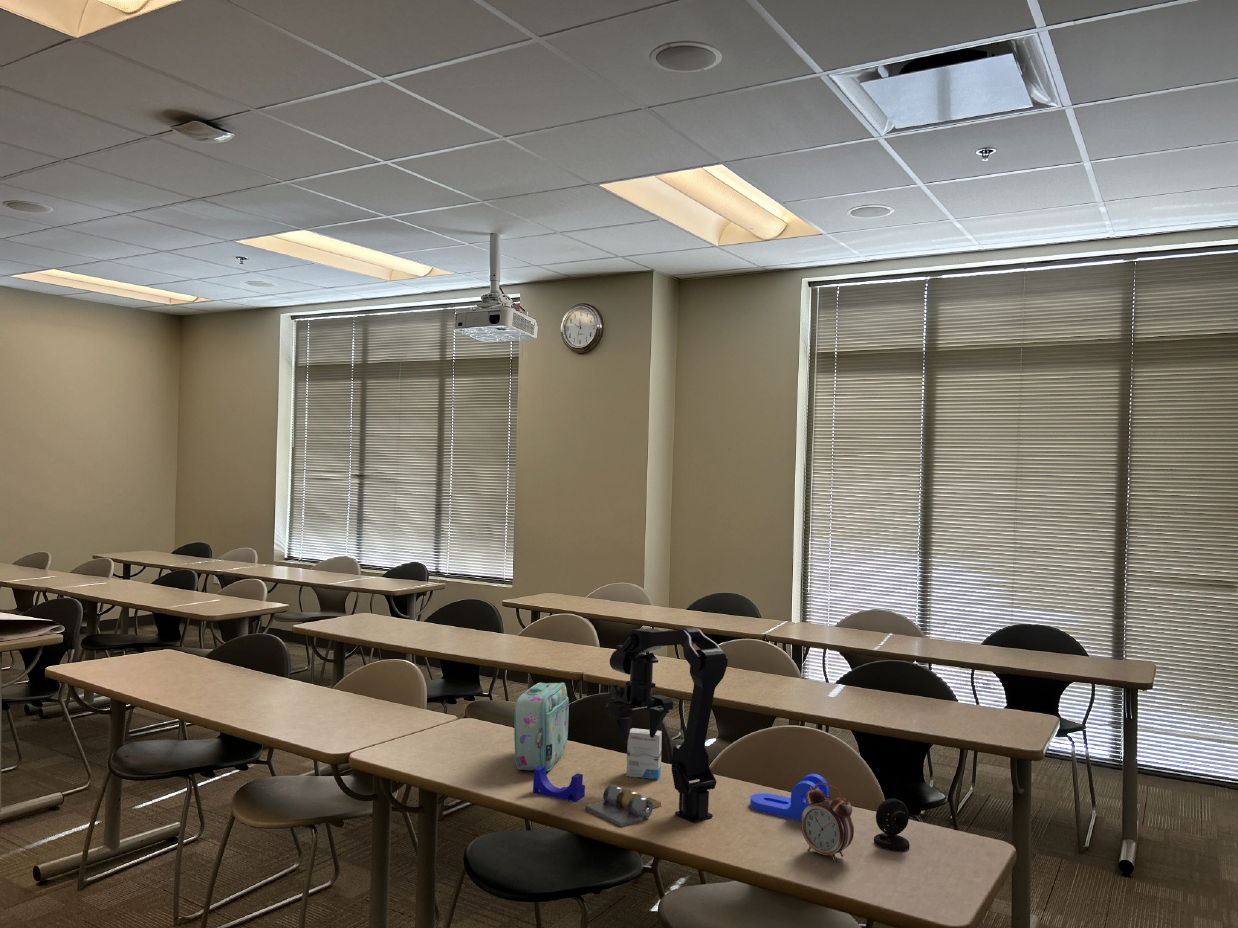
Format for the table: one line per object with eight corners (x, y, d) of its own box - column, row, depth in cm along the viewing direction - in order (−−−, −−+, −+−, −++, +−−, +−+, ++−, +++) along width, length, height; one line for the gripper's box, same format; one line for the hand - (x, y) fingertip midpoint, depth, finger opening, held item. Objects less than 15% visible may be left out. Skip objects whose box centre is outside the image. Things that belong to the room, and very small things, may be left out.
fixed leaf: (655, 818, 201) (656, 798, 201) (623, 827, 194) (624, 807, 194) (614, 800, 212) (615, 781, 212) (583, 808, 205) (583, 789, 205)
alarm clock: (797, 850, 186) (800, 779, 187) (810, 844, 190) (813, 774, 190) (843, 867, 179) (845, 793, 179) (855, 860, 182) (857, 788, 182)
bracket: (828, 814, 209) (829, 776, 209) (819, 825, 202) (820, 786, 202) (756, 799, 218) (758, 762, 218) (745, 809, 210) (746, 771, 211)
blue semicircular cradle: (584, 797, 214) (585, 772, 214) (575, 802, 209) (577, 777, 210) (542, 788, 219) (543, 764, 219) (532, 793, 215) (533, 768, 215)
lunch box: (547, 779, 225) (551, 695, 226) (509, 775, 226) (513, 692, 227) (569, 750, 251) (573, 675, 252) (535, 747, 253) (538, 672, 254)
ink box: (661, 774, 233) (663, 730, 233) (657, 780, 228) (659, 735, 228) (629, 770, 235) (631, 726, 235) (625, 776, 230) (627, 731, 230)
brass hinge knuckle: (661, 806, 209) (661, 787, 209) (628, 815, 202) (629, 795, 202) (649, 801, 212) (650, 782, 212) (617, 810, 205) (618, 790, 205)
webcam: (885, 853, 187) (887, 805, 187) (866, 839, 194) (868, 793, 194) (917, 850, 189) (918, 803, 189) (896, 837, 196) (898, 792, 197)
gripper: (646, 668, 235) (643, 727, 234) (592, 676, 222) (590, 737, 222) (675, 676, 226) (673, 737, 226) (621, 684, 214) (618, 748, 213)
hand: (638, 739), depth 222 cm, fingers open, 9 cm apart
